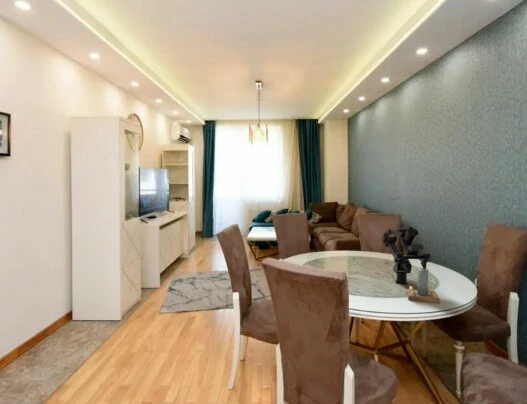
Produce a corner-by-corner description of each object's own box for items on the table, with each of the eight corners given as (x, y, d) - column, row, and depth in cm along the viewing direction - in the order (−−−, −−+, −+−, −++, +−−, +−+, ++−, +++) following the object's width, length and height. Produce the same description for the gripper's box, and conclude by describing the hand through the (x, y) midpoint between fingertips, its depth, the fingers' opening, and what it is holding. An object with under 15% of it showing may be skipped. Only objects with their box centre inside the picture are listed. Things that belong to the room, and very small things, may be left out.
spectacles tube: (415, 293, 168) (416, 268, 167) (422, 292, 169) (422, 267, 169) (423, 296, 163) (423, 271, 162) (429, 295, 165) (430, 270, 164)
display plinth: (406, 292, 175) (406, 285, 175) (435, 295, 171) (435, 288, 170) (408, 300, 164) (408, 292, 164) (439, 303, 159) (439, 295, 159)
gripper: (396, 238, 178) (403, 262, 167) (430, 238, 177) (440, 263, 167) (390, 249, 186) (397, 273, 176) (423, 249, 186) (432, 274, 175)
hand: (416, 271), depth 173 cm, fingers open, 9 cm apart
